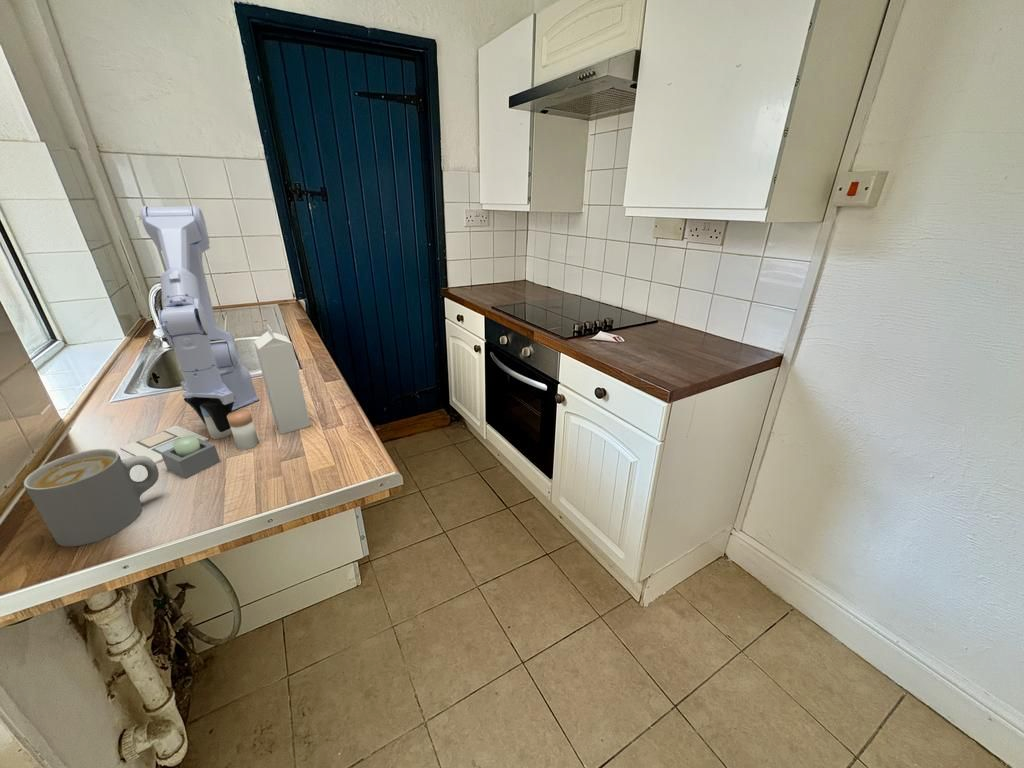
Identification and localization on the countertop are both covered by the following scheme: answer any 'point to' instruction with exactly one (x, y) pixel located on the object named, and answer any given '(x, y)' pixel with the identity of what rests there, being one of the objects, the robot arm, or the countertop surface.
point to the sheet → (158, 443)
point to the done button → (186, 445)
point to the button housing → (191, 459)
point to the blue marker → (213, 426)
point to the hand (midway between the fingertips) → (219, 427)
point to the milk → (282, 381)
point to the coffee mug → (89, 494)
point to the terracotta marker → (243, 429)
